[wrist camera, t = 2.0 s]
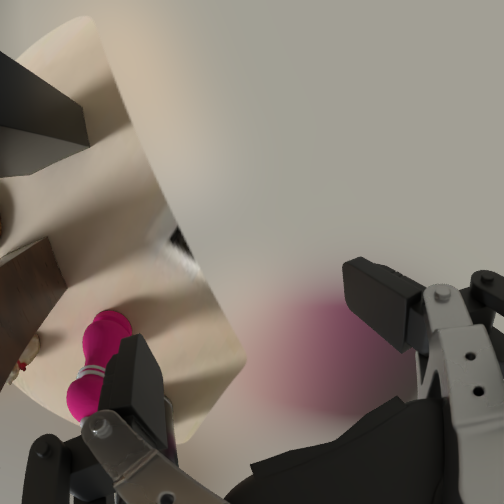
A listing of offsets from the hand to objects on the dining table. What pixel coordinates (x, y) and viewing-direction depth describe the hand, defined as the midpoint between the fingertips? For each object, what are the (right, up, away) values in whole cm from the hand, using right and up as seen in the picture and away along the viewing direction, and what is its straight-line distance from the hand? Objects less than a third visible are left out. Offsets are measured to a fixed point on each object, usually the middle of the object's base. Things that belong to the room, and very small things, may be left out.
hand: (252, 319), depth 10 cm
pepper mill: (-21, -9, +27) cm, 35 cm away
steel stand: (-26, +17, +18) cm, 36 cm away
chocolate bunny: (-38, -13, +24) cm, 47 cm away
